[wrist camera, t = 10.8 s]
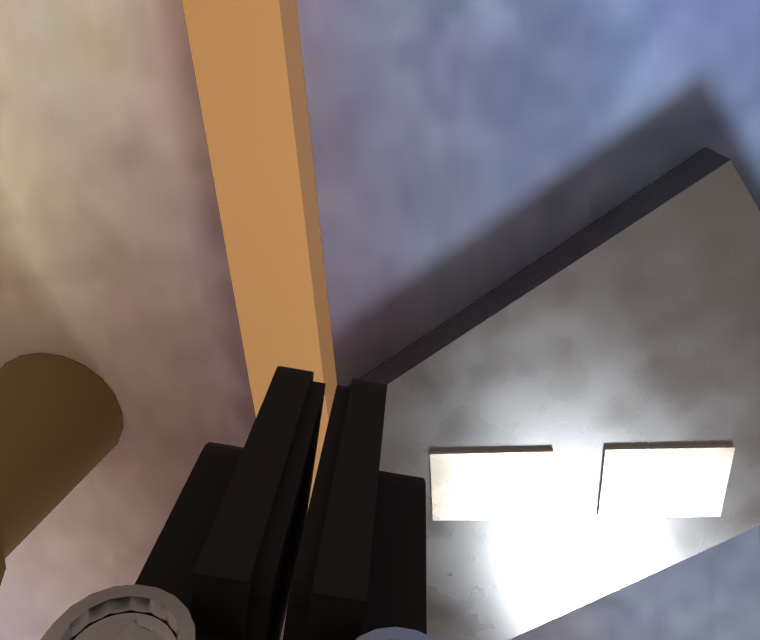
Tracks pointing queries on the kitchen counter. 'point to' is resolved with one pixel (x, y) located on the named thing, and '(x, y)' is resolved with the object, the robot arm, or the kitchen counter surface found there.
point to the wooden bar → (265, 186)
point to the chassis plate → (588, 410)
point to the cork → (48, 438)
